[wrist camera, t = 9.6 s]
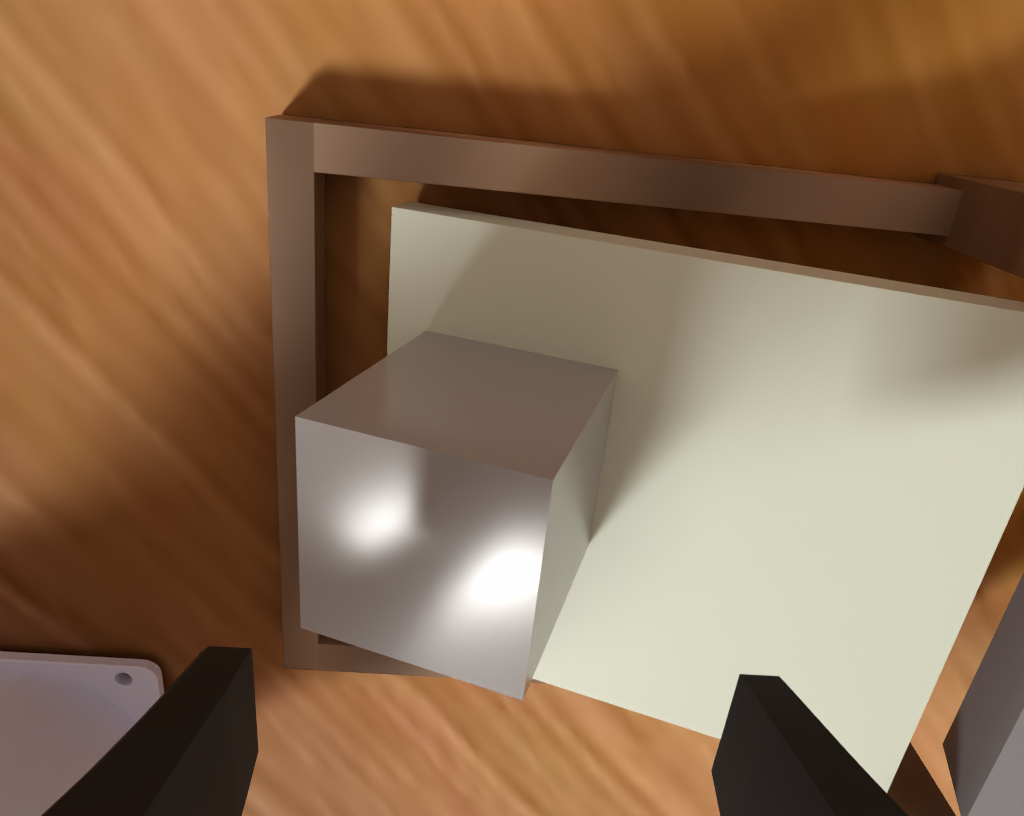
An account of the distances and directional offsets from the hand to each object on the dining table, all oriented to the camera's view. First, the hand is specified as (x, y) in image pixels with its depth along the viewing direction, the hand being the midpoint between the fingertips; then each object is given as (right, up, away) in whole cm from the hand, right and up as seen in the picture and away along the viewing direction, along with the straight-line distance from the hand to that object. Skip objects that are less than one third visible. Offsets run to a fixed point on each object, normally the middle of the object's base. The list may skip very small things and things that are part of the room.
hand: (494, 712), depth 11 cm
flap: (+7, +2, +7) cm, 10 cm away
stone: (0, +4, +7) cm, 8 cm away
